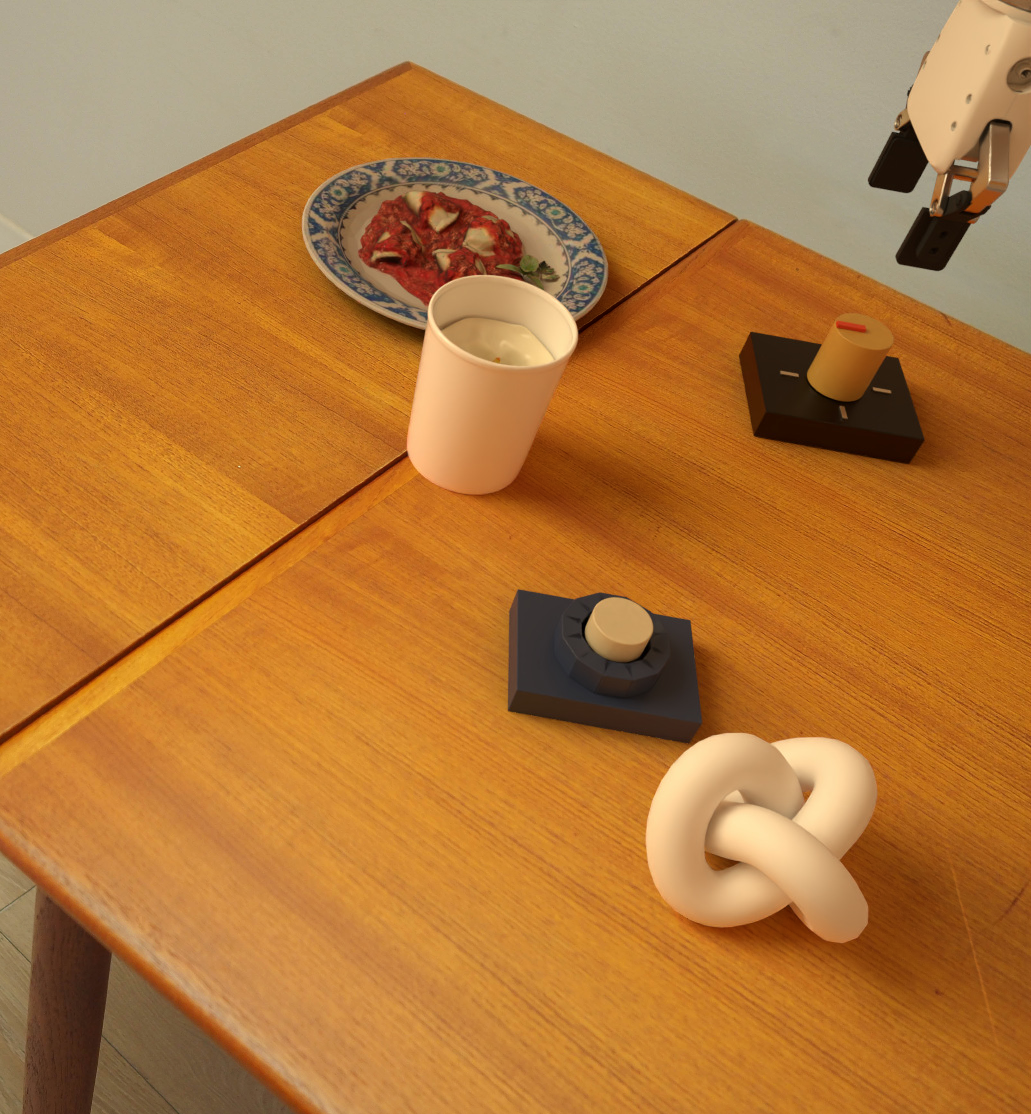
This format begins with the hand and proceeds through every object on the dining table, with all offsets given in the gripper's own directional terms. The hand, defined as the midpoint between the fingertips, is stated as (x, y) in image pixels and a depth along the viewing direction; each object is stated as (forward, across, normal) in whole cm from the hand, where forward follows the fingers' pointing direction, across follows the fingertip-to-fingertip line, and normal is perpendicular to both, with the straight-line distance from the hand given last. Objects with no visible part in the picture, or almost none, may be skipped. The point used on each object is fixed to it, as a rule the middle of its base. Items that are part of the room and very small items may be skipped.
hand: (902, 225), depth 87 cm
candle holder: (+16, -13, +27) cm, 34 cm away
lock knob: (+14, 0, -1) cm, 14 cm away
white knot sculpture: (+16, -43, +11) cm, 48 cm away
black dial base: (+16, 0, -1) cm, 16 cm away
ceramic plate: (+17, +11, +28) cm, 35 cm away
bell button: (+13, -31, +18) cm, 38 cm away
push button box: (+16, -31, +18) cm, 39 cm away
